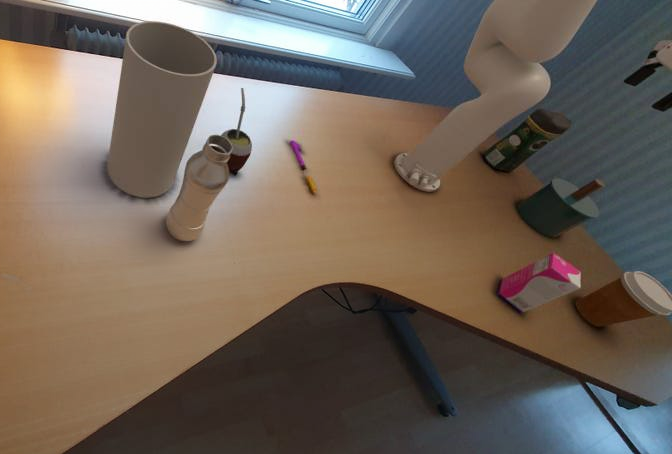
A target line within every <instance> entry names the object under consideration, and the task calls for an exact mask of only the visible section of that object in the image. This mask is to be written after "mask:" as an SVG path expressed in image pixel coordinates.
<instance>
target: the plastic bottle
mask: <svg viewBox="0 0 672 454" xmlns="http://www.w3.org/2000/svg"><path fill="white" fill-rule="evenodd" d="M232 149H233V146H232V144H231V142H230V141H229V140H228V139H226V138H225V137H223V136H221V134H211V135H209V136H208V137H207V138H206V141H205V143H204V144H203V145H202V149H201V150H199V151H197V152H195V153H193V154H192V155H191V156H190V157H189V158H188V160H187V161H186V164H185V167H184V172H183V178H182V183H181V187H180V190H179V193H178V195H177V197H176V199H175V201H174V202H173V204H172V206H171V207H170V208H169V210H168V211H167V214H166V221H165V225H166V228H167V231H168V233H169V234H170V235H171V236H172V237H173V238H174V239H176V240H178V241H181V242H191V241H194V240H196V239H197V238H198V237H199V236H200V235H201V234H202V233H203V231H204V228H205V225H206V220H207V217H208V213H209V211H210V208H211V207H212V205H213V203H214V202H215V200H216V199H217V197H218V196H219V194H220V193H221V192H222V191H223V190H224V189H225V187H226V185H227V184H228V182H229V175H230V172H229V169H228V165H227V161H228V160H229V158H230V154H231V152H232Z"/></svg>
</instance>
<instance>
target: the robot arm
mask: <svg viewBox="0 0 672 454" xmlns="http://www.w3.org/2000/svg"><path fill="white" fill-rule="evenodd" d="M596 3H598V0H493V1H492V2H491V3H490V5H489V6H488V8H487V9H486V11H485V12H484V14H483V16H482V18H481V20H480V23H479V24H478V27H477V29H476V31H475V34H474V36H473V39H472V41H471V43H470V46H469V48H468V51H467V53H466V55H465V58H464V62H463V72H464V74H465V76H466V77H467V79H468V80H469V82H471V84H472V85H473V86H474V87H475V88H476V89H477V91H478V92H479V94H480V95H479V96H478V97H477V98H474V99H471V100H468V101H465V102H463V103H460V104H458V105H457V106H455V107H454V108H453V109H452V110H450V112H449V113H448V114H447V115H446V116H445V117H444V118H443V119H442V120H441V121H440V122H439V123H438V124H437V125H436V126H435V127H434V128H433V129H432V130H431V131H430V132H429V133H428V134H427V135H426V136H425V137H424V138H423V139H422V140H421V141H420V142H419V143H418V144H417V145H416V146H415V147H414V148H412V150H410V152H409V153H405V152H404V153H399V154H398V155H397V156H396V157H395V159H394V161H393V163H394V164H393V165H394V168H395V170H396V172H397V174H399V176H400V177H401V178H402V179H403V180H404V181H405V182H406V183H408V184H409V185H410V186H411V187H413V188H415V189H417V190H419V191H422V192H427V193H432V192H435V191H436V190H437V189H439V188H440V186H441V178H442V177H443V176H444V175H445V174H446V173H448V172H449V171H450V170H451V169H452V168H454V166H456V165H457V164H459V163H460V162H461V161H462V160H464V159H465V158H466V157H467V156H469V154H470V153H472V152H473V151H474V150H475V149H476V148H478V147H479V146H480V145H481V144H482V143H483V142H484V141H486V140H488V138H489V137H491V136H492V135H493V134H494V133H495V132H497V131H498V130H500V128H502V127H503V126H505V125H506V124H507V123H508V122H511V120H513V119H515V118H516V117H518V116H519V115H521V114H523V113H524V112H526V111H528V110H529V109H531V108H533V107H534V106H535V105H537V104H538V103H540V102H541V101H542V100H543V99H544V98H545V97H546V96H547V95H548V93H549V91H550V88H551V84H552V83H551V77H550V75H549V72H548V71H547V70H546V69H545V67H544V66H542V65H541V63H545V62H548V61H551V60H552V59H554V58H555V57H557V56H558V55H560V53H562V52H563V51H564V49H566V47H567V46H568V45H569V44H570V42H572V39H573V38H574V36H575V35H576V34H577V32H578V30H579V29H580V28H581V27H582V24H583V23H584V22H585V20H586V18H587V17H588V15H589V14H590V13H591V12H592V10H593V8H594V6H595V5H596ZM664 67H665V68H666V69H667V70H669V71H670V72H671V73H672V39H662V40H660V41H658V42H657V44H656V45H655V46H654V47H653V49H652V50H651V51H650V52H649V53H648V56H647V58H646V59H645V60H644V62H643V64H642V66H641V67H639V68H638V69H637V70H636V71H634V72H633V73H632V74H630V75H628V77H626V78H625V79H624V80H623V83H624V84H625V85H626V84H627V85H629V86H632V87H637V86H639V85H640V84H641V83H642V82H645V80H647V79H648V78H649V77H651V76H652V75H654V74H655V73H656V72H657V70H656V69H660V68H664ZM651 108H652V109H654V110H657V111H659V112H662V113H663V112H666V111H668V110H670V109H671V108H672V91H671V92H669V93H668V94H666V95H665V96H663V97H661V98H660V99H659V100H657V101H656V102H653V103H652V104H651Z"/></svg>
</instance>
